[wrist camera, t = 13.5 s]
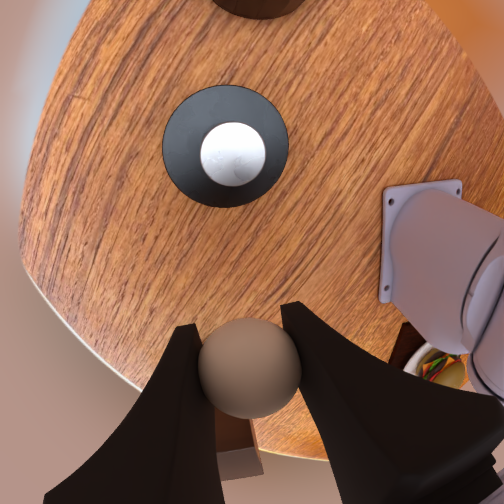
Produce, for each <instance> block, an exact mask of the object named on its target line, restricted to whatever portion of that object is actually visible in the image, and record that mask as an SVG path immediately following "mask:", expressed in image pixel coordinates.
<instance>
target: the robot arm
mask: <svg viewBox="0 0 504 504" xmlns="http://www.w3.org/2000/svg"><path fill="white" fill-rule="evenodd" d="M456 191H457V193H456ZM461 196H462V182H461V181H460V180H458V179H450V180H441V181H432V182H424V183H416V184H408V185H400V186H392V187H387V188H386V189H385V190H384V192H383V232H382V256H381V273H380V286H379V297H378V298H379V301H380V302H381V303H387V302H392V303H393V304H394V305H395V306H396V307H397V308H398V310H399V311H400V312H401V313H402V314H403V315H404V316H405V317H406V318H407V320H408V321H409V322H410V323H411V324H412V325H413V326H414V327H415V329H416V330H417V331H418V332H419V333H420V334H421V335H422V336H423V338H424V339H425V340H426V341H427V342H428V343H429V344H430V345H432V346H433V347H435V348H437V349H438V350H441V351H443V352H446V353H449V354H455V355H460V354H467V353H470V354H469V356H468V359H467V365H466V366H467V373H468V377H469V379H470V381H471V384H472V385H473V387H474V389H475V390H476V392H477V393H475V392H469V391H463V390H459V389H455V388H452V387H448V386H444V385H441V384H437V383H434V382H431V381H428V380H426V379H423V378H420V377H418V376H415V375H413V374H410V373H408V372H405V371H403V370H400V369H398V368H396V367H394V366H392V365H390V364H388V363H386V362H384V361H382V360H380V359H378V358H376V357H375V356H373V355H371V354H370V353H368V352H366V351H365V350H363V349H362V348H360V347H358V346H357V345H355V344H354V343H352V342H351V341H349V340H348V339H346V338H345V337H344V336H342V335H341V334H340V333H338V332H337V331H336V330H334V329H333V328H331V327H330V326H329V325H328V324H326V323H325V322H324V321H323V320H321V319H320V318H319V317H318V316H317V315H315V314H314V313H313V312H312V311H311V310H309V309H308V308H307V307H306V306H305V305H304V304H303V303H301V302H300V301H296V302H292V303H288V304H283V305H280V308H281V316H282V324H283V330H284V331H286V332H287V333H288V334H289V336H290V337H291V338H292V340H293V342H294V344H295V346H296V348H297V351H298V354H299V357H300V361H301V367H302V376H301V380H300V384H299V389H300V392H301V394H302V396H303V398H304V400H305V402H306V405H307V407H308V409H309V411H310V413H311V415H312V418H313V420H314V422H315V424H316V426H317V428H318V431H319V433H320V436H321V438H322V441H323V444H324V447H325V450H326V453H327V455H328V458H329V461H330V464H331V468H332V471H333V474H334V477H335V480H336V483H337V487H338V490H339V493H340V496H341V500H342V503H343V504H504V468H503V469H502V470H501V471H500V472H498V473H496V472H495V470H494V468H493V467H492V466H493V465H494V464H495V463H496V460H495V458H494V457H493V455H492V454H491V453H492V452H493V450H494V449H495V448H496V447H497V446H498V445H499V444H500V443H501V441H502V440H503V439H504V219H502V218H500V217H498V216H496V215H494V214H492V213H490V212H488V211H486V210H484V209H482V208H480V207H477V206H475V205H473V204H471V203H469V202H467V201H464V200H462V199H461ZM390 199H391V203H390V204H388V201H389V200H390ZM385 286H387V287H386V288H384V287H385ZM202 346H203V345H202V342H201V339H200V336H199V333H198V330H197V327H196V324H195V323H193V324H188V325H183V326H177V327H176V328H175V330H174V332H173V334H172V336H171V338H170V341H169V343H168V345H167V347H166V349H165V351H164V353H163V355H162V357H161V359H160V361H159V363H158V365H157V367H156V368H155V370H154V372H153V374H152V376H151V378H150V380H149V381H148V383H147V385H146V386H145V388H144V390H143V391H142V393H141V395H140V396H139V398H138V399H137V401H136V402H135V404H134V405H133V407H132V409H131V410H130V411H129V413H128V414H127V416H126V417H125V418H124V420H123V421H122V422H121V424H120V425H119V426H118V427H117V429H116V430H115V431H114V432H113V433H112V434H111V436H110V437H109V438H108V439H107V440H106V441H105V442H104V444H103V445H102V446H101V447H100V448H99V449H98V450H97V451H96V452H95V453H94V454H93V455H92V456H91V457H90V458H89V459H88V460H87V461H86V462H85V463H84V464H83V465H82V466H81V467H80V468H79V469H77V470H76V471H75V472H74V473H73V474H71V475H70V476H69V477H68V478H66V479H65V480H64V481H62V482H61V483H60V484H58V485H57V486H56V487H54V488H53V489H52V490H50V491H49V492H47V493H46V494H45V496H44V500H43V504H225V501H224V496H223V491H222V486H221V480H220V475H219V469H218V463H217V453H216V432H215V406H214V405H213V404H212V403H211V402H210V401H209V400H208V398H207V397H206V396H205V394H204V392H203V390H202V387H201V383H200V378H199V371H198V357H199V353H200V350H201V348H202Z"/></svg>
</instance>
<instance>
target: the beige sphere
mask: <svg viewBox="0 0 504 504" xmlns="http://www.w3.org/2000/svg"><path fill="white" fill-rule="evenodd" d="M198 371H199V378H200V383H201V387H202V390H203V392H204V394H205V396H206V397H207V398H208V400H209V401H210V402H211V403H212V404H213V405H214V406H215V407H216V408H218V409H219V410H221V411H222V412H224V413H226V414H228V415H231V416H234V417H237V418H243V419H256V418H262V417H266V416H269V415H271V414H273V413H275V412H277V411H279V410H280V409H281V408H283V407H284V406H285V405H286V404H287V403H288V402H289V401H290V400H291V399H292V397H293V396H294V395H295V393H296V391H297V389H298V387H299V384H300V380H301V376H302V367H301V361H300V357H299V354H298V351H297V348H296V346H295V344H294V342H293V340H292V338H291V337H290V336H289V334H288V333H287V332H286V331H284V330H283V329H282V328H281V327H279V326H278V325H276V324H274V323H272V322H269V321H267V320H263V319H258V318H240V319H235V320H232V321H229V322H227V323H225V324H223V325H222V326H220V327H218V328H217V329H216V330H215V331H213V332H212V333H211V335H210V336H209V337H208V338H207V339H206V341H205V342H204V344H203V346H202V348H201V350H200V353H199V357H198Z"/></svg>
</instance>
